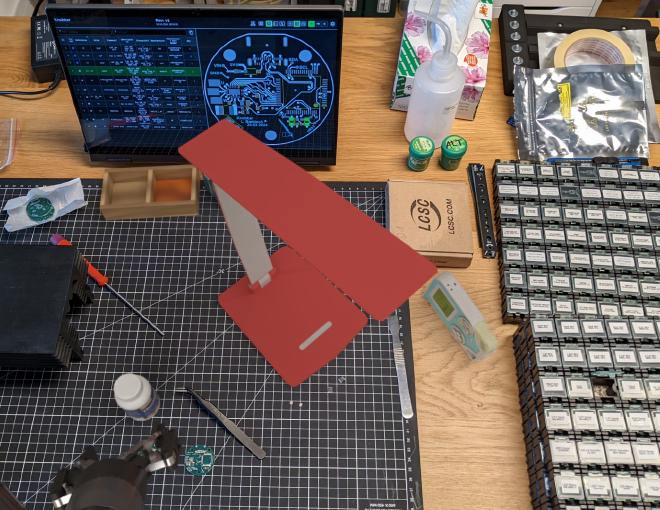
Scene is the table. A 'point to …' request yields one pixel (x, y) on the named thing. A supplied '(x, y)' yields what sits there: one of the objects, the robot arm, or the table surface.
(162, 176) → the wooden box
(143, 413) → the pill bottle
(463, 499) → the table surface
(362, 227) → the desk lamp
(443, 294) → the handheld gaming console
